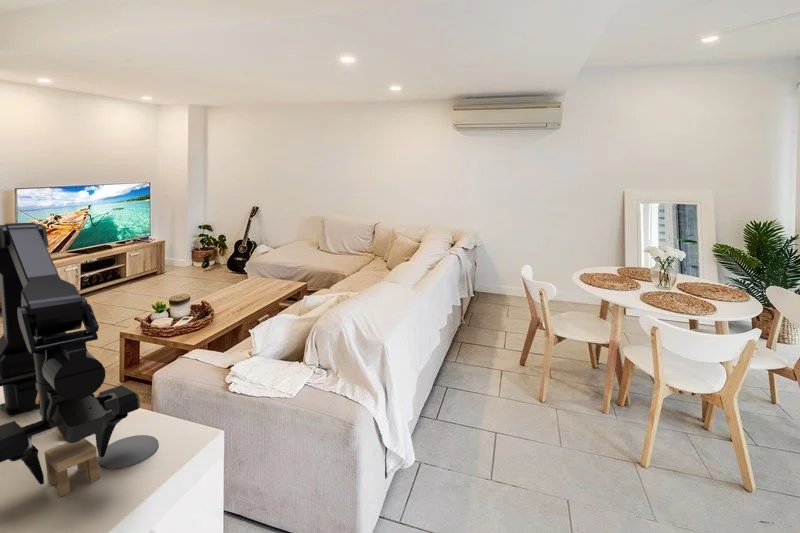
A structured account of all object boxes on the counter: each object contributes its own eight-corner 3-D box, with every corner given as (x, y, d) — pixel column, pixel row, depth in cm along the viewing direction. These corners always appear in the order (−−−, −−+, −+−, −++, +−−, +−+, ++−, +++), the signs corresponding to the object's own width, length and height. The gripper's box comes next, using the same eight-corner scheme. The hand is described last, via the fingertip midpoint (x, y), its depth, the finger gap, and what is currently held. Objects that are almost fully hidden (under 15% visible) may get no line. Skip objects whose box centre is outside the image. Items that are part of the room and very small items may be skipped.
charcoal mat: (88, 455, 73) (87, 453, 73) (142, 431, 80) (142, 429, 80) (112, 475, 68) (112, 473, 68) (168, 448, 76) (168, 446, 75)
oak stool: (48, 483, 66) (44, 451, 65) (85, 466, 70) (82, 436, 69) (61, 496, 63) (57, 463, 62) (99, 478, 67) (95, 447, 66)
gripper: (-5, 420, 52) (12, 531, 54) (153, 369, 67) (160, 458, 70) (-31, 393, 57) (-15, 495, 60) (120, 352, 73) (127, 435, 76)
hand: (72, 469), depth 66 cm, fingers open, 8 cm apart
